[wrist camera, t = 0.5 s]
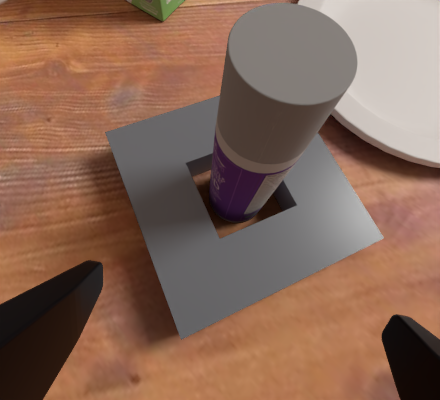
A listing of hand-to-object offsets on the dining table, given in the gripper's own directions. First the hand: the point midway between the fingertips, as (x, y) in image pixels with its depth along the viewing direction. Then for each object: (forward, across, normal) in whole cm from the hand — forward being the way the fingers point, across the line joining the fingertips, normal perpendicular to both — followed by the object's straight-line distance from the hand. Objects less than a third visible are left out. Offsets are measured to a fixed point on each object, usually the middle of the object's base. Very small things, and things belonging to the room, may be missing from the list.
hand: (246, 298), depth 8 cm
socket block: (+15, 0, +3) cm, 15 cm away
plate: (+29, -17, -11) cm, 35 cm away
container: (+15, 0, +3) cm, 15 cm away
